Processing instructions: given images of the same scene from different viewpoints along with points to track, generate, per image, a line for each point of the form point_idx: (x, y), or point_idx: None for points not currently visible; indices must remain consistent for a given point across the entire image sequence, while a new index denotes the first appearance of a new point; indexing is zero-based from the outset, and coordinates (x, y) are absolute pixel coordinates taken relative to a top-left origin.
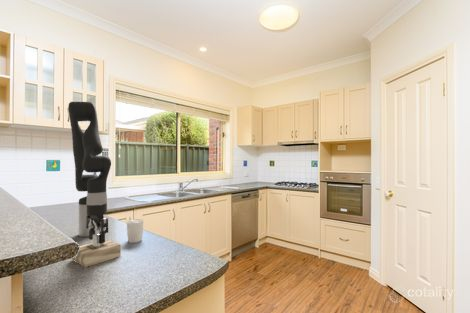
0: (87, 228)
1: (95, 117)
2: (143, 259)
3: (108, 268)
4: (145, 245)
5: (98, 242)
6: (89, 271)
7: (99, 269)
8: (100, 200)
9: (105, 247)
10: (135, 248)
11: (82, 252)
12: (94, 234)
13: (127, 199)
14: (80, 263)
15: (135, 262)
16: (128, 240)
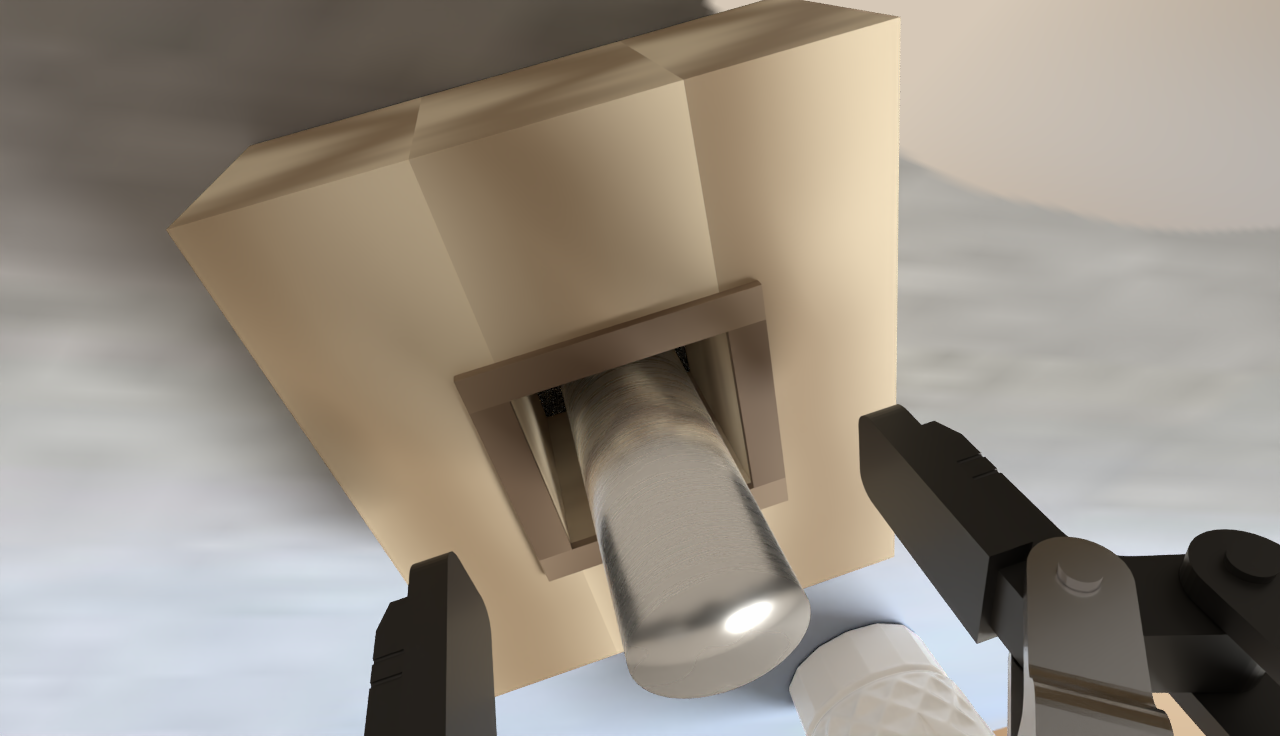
0: (1184, 556)
1: None
2: (204, 725)
3: (48, 429)
4: (639, 731)
5: (595, 525)
6: (23, 185)
7: (59, 325)
8: None
9: (465, 549)
10: (621, 670)
11: (396, 189)
12: (751, 602)
13: None
14: (441, 96)
15: (140, 671)
16: (874, 640)
